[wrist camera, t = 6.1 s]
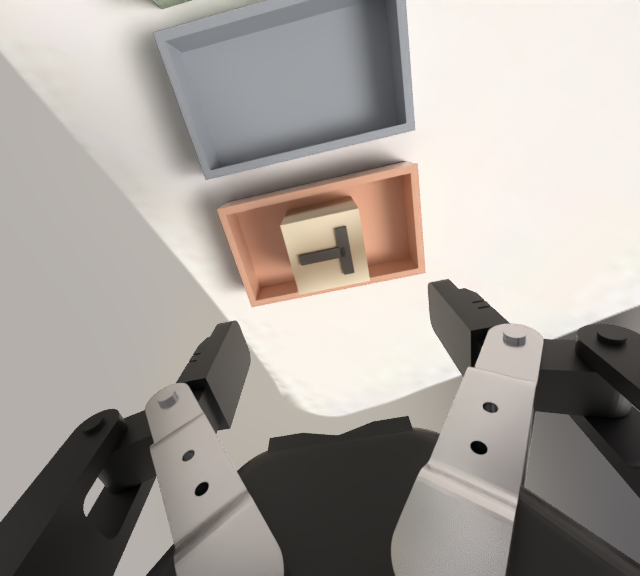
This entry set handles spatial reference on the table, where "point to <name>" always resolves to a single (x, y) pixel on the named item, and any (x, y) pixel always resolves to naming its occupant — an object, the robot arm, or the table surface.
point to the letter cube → (325, 245)
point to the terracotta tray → (364, 187)
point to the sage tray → (168, 2)
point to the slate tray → (290, 79)
